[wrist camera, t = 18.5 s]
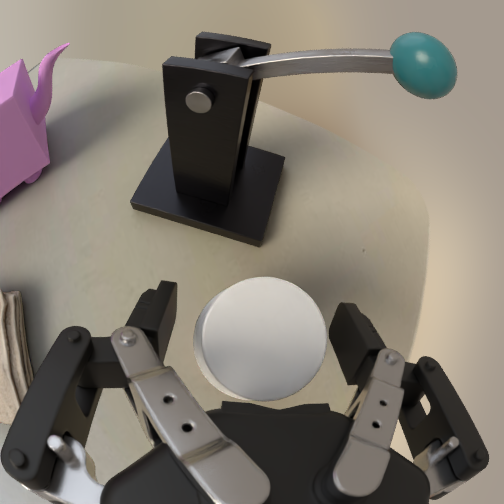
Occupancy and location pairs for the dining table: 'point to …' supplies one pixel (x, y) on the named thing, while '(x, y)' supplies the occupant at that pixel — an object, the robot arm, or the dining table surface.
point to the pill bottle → (260, 339)
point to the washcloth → (12, 356)
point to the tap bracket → (212, 146)
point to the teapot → (24, 122)
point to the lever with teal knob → (363, 63)
